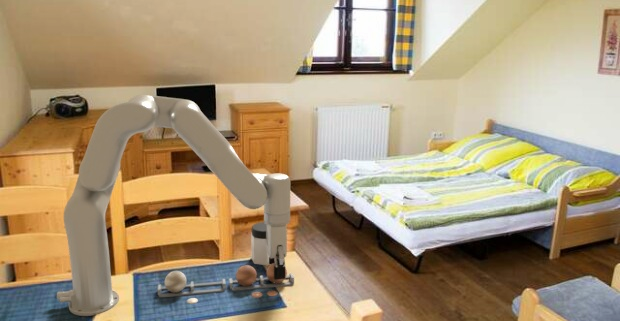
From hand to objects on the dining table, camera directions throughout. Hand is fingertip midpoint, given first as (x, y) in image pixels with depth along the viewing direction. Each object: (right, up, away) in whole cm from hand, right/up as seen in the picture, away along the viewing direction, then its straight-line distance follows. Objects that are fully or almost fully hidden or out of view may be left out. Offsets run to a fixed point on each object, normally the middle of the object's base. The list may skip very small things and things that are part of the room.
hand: (276, 271), depth 150 cm
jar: (-5, 0, +16) cm, 17 cm away
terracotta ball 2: (0, -3, +1) cm, 4 cm away
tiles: (-13, -6, -8) cm, 16 cm away
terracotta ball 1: (-9, -4, -1) cm, 10 cm away
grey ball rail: (-14, -5, -2) cm, 15 cm away
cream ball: (-28, -5, -5) cm, 29 cm away
